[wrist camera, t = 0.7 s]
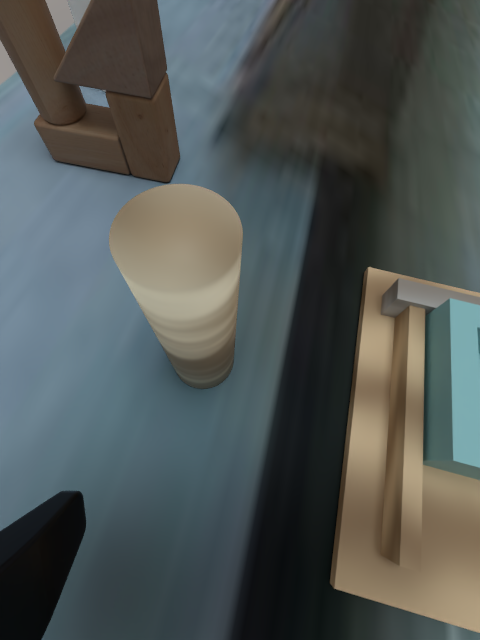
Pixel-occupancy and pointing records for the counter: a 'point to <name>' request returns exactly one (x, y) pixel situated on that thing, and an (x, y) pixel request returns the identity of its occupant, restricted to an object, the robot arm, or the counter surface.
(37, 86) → the wooden block
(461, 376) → the socket block
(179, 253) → the birch dowel
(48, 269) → the counter surface
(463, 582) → the rail base
